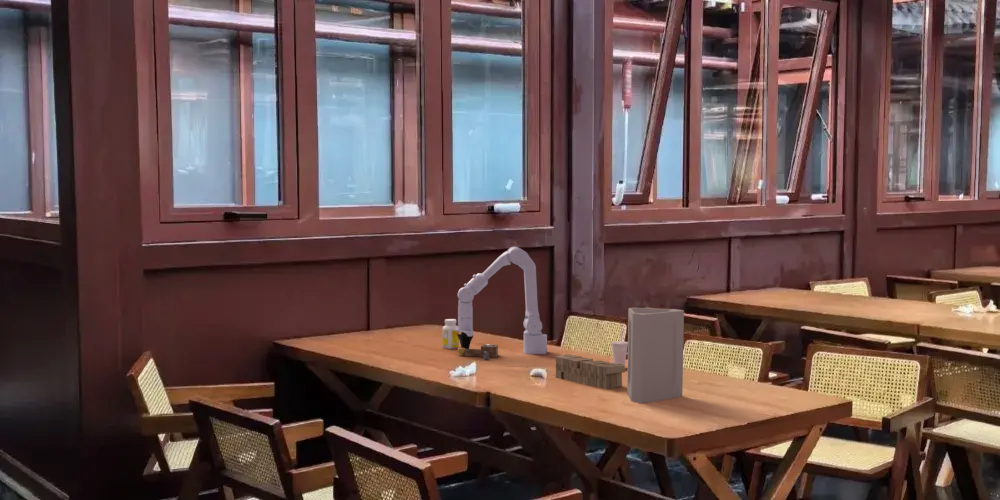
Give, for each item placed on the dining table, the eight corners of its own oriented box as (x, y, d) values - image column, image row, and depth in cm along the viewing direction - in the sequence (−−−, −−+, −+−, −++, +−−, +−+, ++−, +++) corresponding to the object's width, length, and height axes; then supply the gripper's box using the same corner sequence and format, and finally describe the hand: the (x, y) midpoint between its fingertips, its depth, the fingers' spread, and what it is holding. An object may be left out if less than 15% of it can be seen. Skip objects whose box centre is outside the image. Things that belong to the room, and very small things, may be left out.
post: (492, 359, 414) (492, 344, 414) (492, 360, 412) (492, 345, 411) (486, 359, 414) (486, 344, 414) (486, 360, 412) (486, 345, 411)
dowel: (488, 360, 405) (488, 351, 405) (488, 361, 403) (488, 352, 403) (484, 360, 405) (484, 351, 405) (483, 361, 404) (483, 351, 403)
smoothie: (627, 370, 392) (627, 332, 391) (609, 369, 394) (610, 331, 393) (628, 367, 399) (629, 330, 398) (611, 366, 400) (612, 329, 399)
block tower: (552, 379, 378) (607, 390, 355) (552, 356, 378) (607, 365, 354) (570, 377, 383) (625, 387, 359) (569, 353, 383) (625, 362, 359)
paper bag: (650, 389, 356) (652, 306, 354) (683, 396, 344) (685, 310, 343) (608, 395, 345) (610, 309, 343) (641, 403, 333) (642, 314, 331)
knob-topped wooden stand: (497, 354, 416) (497, 344, 415) (496, 357, 410) (496, 347, 409) (458, 354, 417) (458, 343, 417) (456, 356, 411) (456, 346, 411)
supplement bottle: (459, 349, 437) (459, 318, 436) (457, 352, 430) (457, 320, 429) (443, 349, 437) (443, 318, 436) (441, 352, 431) (441, 320, 430)
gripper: (450, 315, 424) (450, 349, 425) (460, 320, 410) (460, 355, 411) (467, 315, 426) (467, 349, 427) (478, 319, 412) (478, 354, 413)
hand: (465, 352), depth 419 cm, fingers closed
